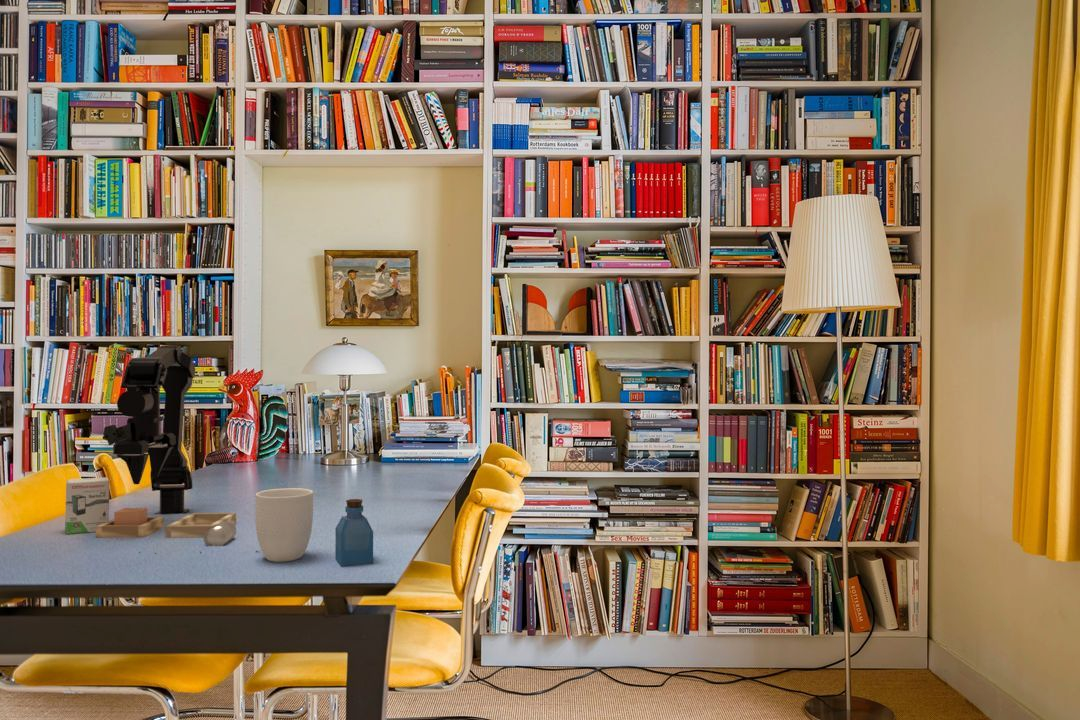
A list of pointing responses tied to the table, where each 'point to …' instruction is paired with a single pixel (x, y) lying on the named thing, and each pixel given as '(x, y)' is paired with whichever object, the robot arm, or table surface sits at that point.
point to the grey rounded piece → (220, 534)
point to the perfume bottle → (354, 537)
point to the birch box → (197, 524)
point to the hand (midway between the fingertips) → (145, 480)
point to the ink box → (86, 504)
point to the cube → (130, 516)
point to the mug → (284, 522)
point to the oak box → (129, 529)
